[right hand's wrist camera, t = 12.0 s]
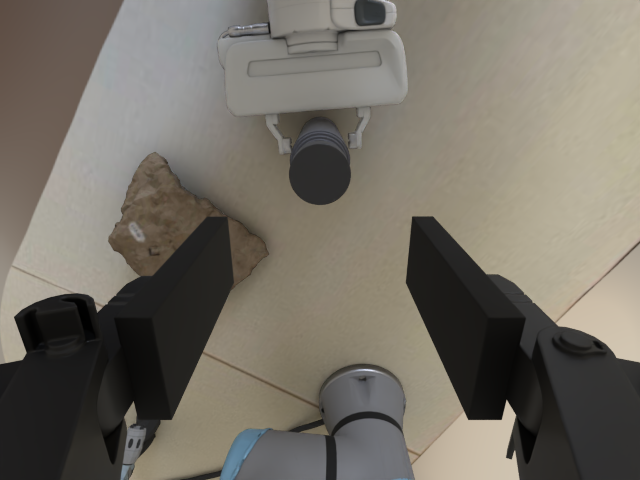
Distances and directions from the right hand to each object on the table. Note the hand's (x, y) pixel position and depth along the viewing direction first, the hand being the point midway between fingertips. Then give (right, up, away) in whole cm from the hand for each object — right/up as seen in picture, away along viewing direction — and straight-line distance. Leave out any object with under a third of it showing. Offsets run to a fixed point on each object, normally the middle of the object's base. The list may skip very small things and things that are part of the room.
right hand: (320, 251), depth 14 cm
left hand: (0, +11, +30) cm, 32 cm away
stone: (-19, +2, +41) cm, 45 cm away
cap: (0, +5, +13) cm, 14 cm away
